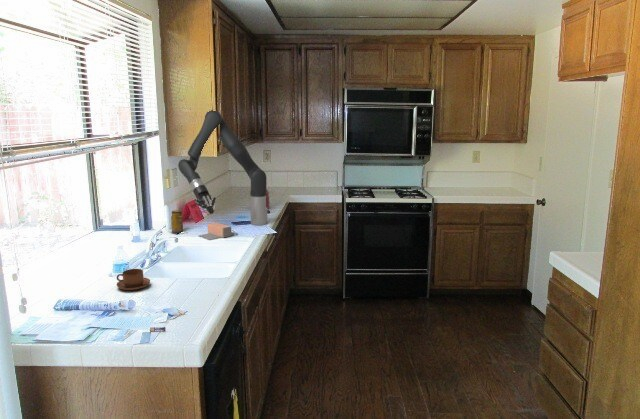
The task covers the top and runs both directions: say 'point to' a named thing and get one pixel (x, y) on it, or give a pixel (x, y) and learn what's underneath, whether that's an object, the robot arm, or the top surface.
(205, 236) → the mat
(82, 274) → the top surface
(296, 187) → the top surface
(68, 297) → the top surface
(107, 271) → the top surface
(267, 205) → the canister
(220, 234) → the block
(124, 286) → the cup and saucer
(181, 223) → the condiment
